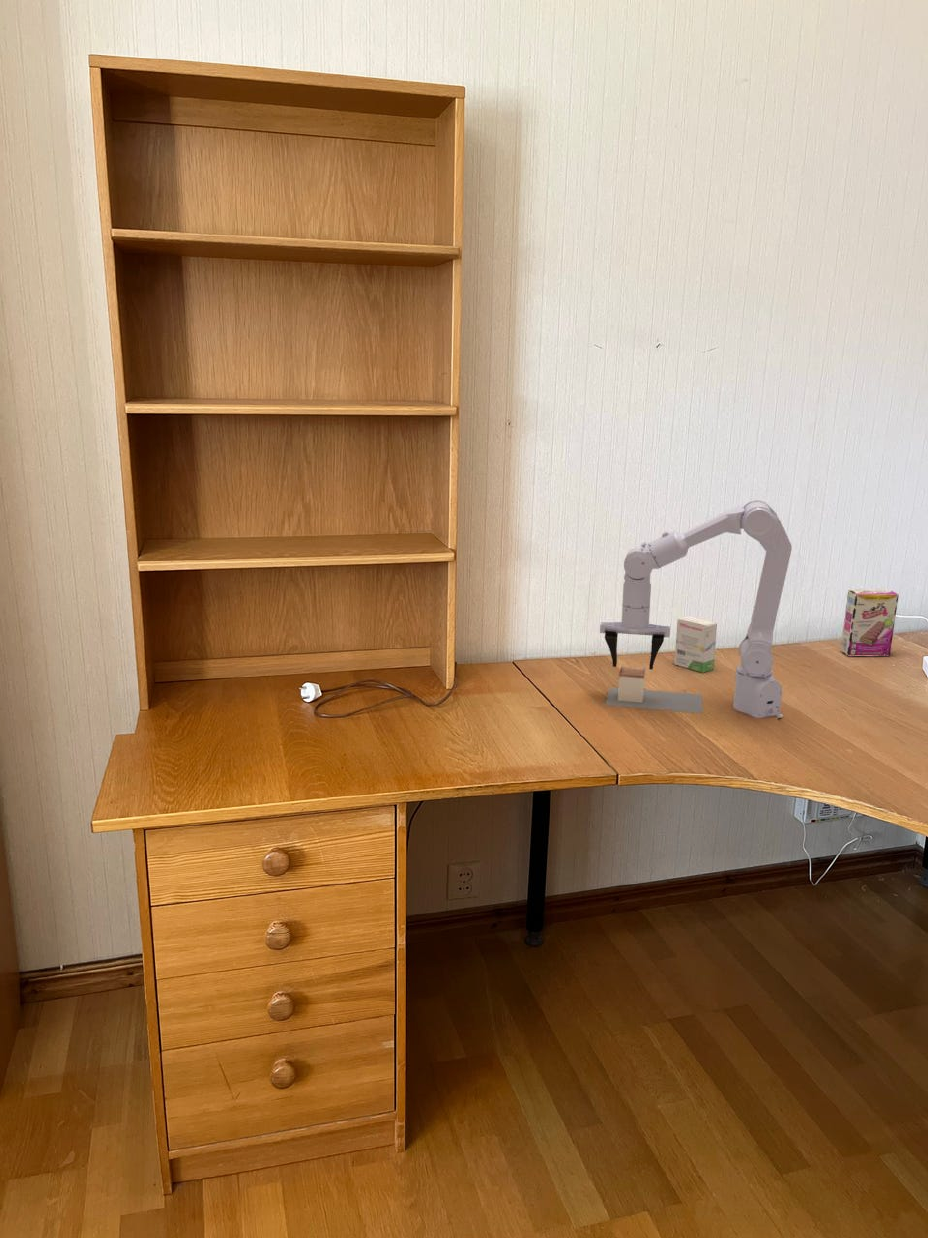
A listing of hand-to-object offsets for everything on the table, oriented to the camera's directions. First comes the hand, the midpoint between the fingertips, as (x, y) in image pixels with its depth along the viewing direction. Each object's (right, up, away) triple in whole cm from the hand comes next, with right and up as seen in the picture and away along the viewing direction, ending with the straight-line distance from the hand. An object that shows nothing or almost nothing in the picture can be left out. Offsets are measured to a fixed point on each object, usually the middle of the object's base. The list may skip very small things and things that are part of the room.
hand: (632, 666), depth 207 cm
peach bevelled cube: (0, -7, +2) cm, 7 cm away
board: (+5, -8, +1) cm, 9 cm away
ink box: (+19, -2, +26) cm, 33 cm away
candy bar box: (+66, +1, +38) cm, 76 cm away
